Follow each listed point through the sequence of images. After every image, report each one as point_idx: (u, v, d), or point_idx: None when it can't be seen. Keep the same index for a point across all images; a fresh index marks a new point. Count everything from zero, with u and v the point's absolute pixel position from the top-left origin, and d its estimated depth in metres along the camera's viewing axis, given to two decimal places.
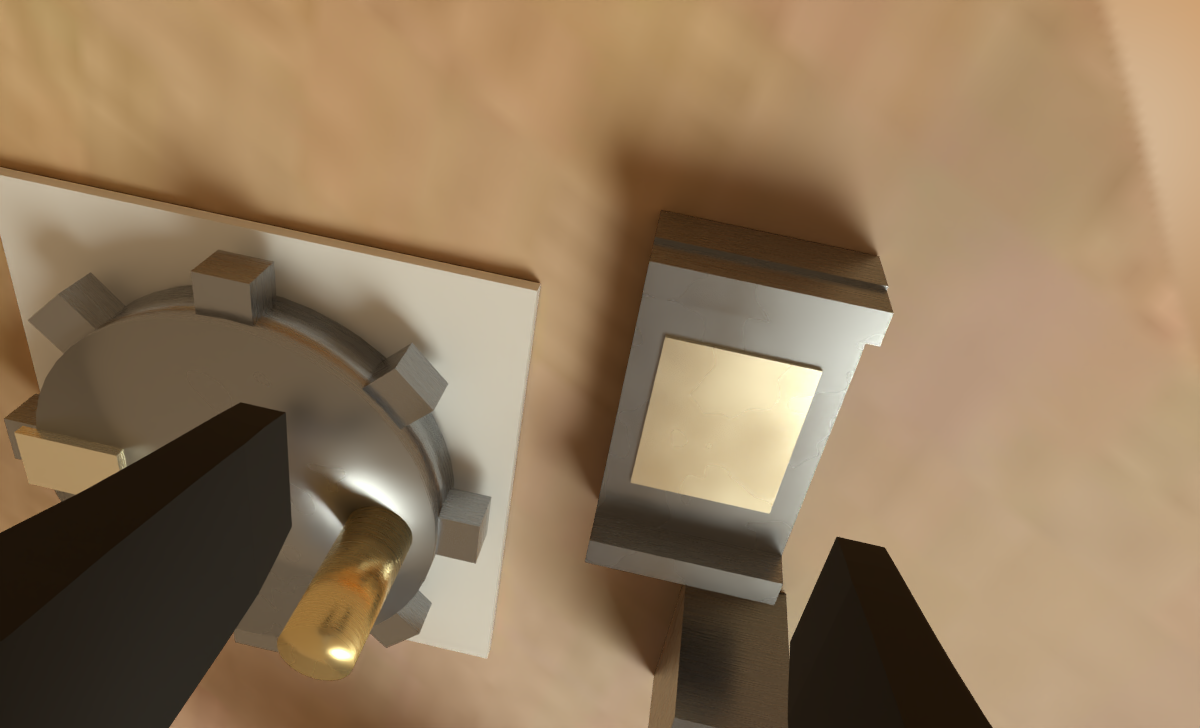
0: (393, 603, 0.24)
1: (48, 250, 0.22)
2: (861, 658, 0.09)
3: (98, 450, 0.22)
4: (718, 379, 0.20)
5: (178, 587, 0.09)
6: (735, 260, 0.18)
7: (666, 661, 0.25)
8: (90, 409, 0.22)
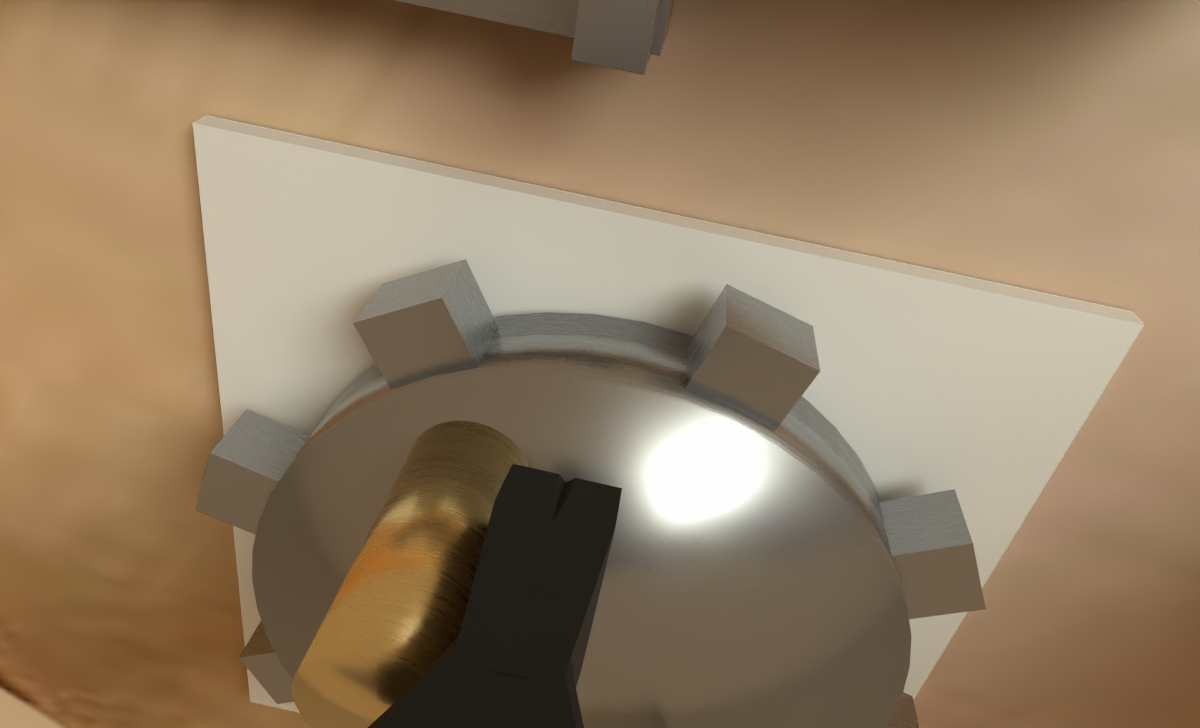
0: (635, 407, 0.11)
1: None
2: None
3: None
4: None
5: None
6: None
7: None
8: None
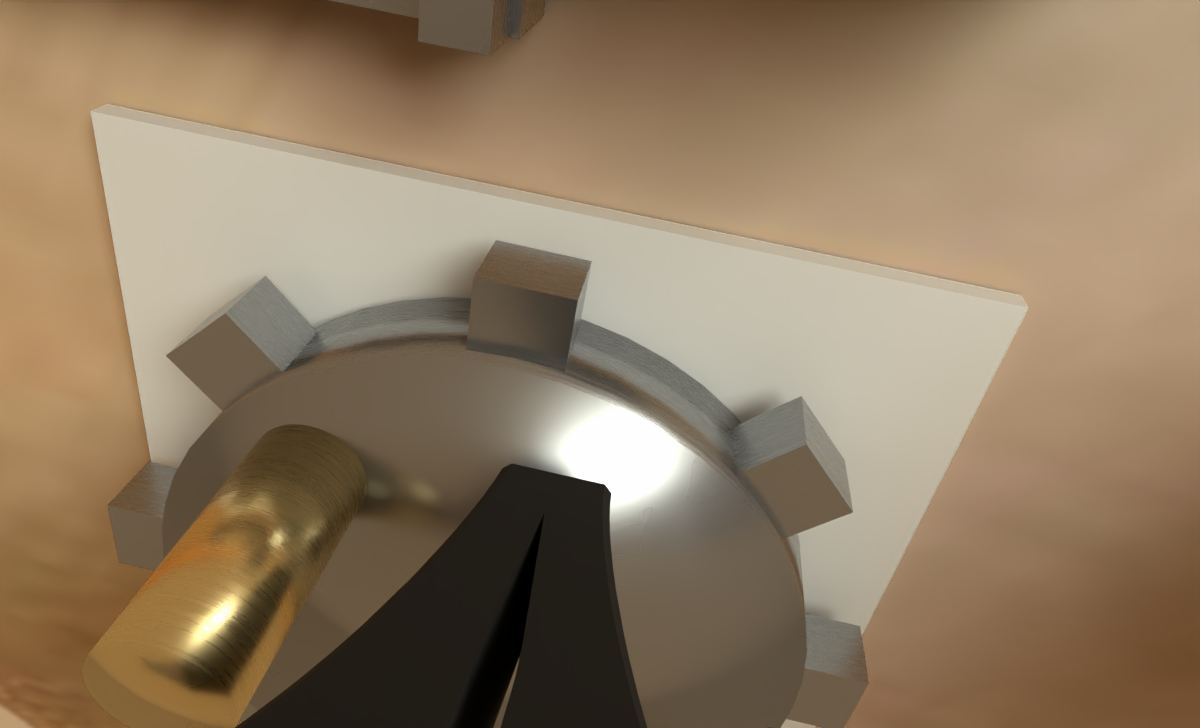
0: (420, 376, 0.12)
1: None
2: (532, 582, 0.09)
3: None
4: None
5: (496, 661, 0.09)
6: None
7: None
8: None
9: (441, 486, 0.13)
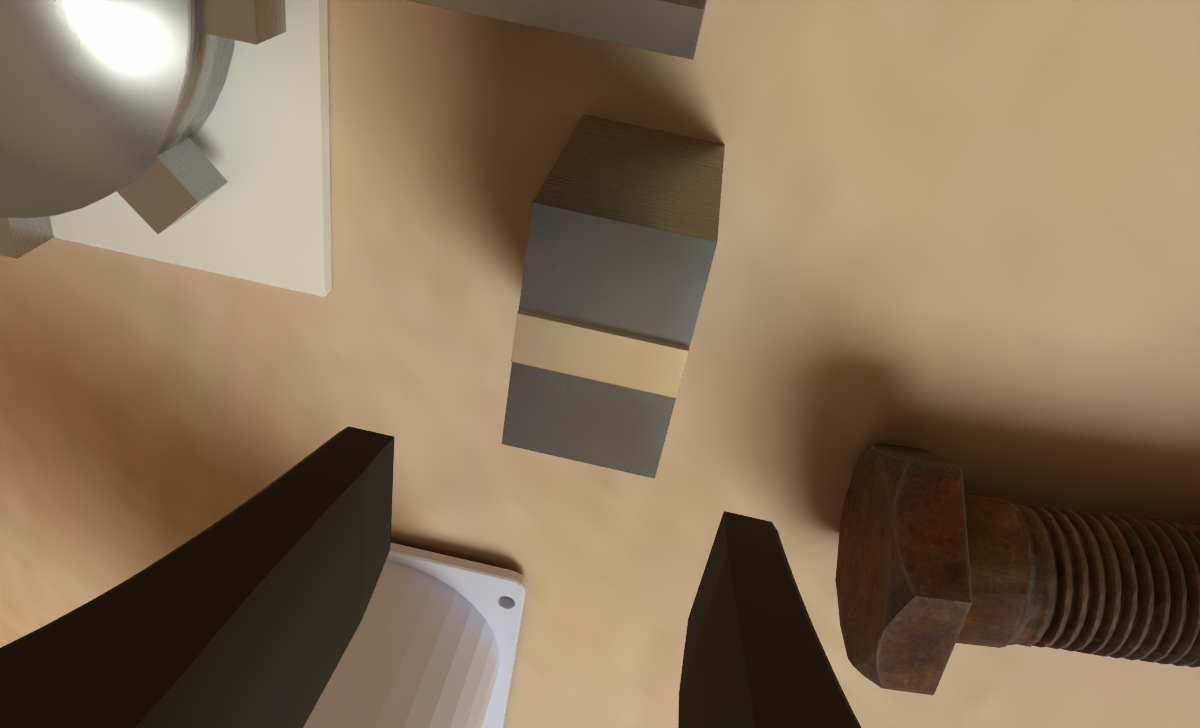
0: None
1: None
2: (728, 627, 0.09)
3: None
4: None
5: (305, 616, 0.09)
6: None
7: None
8: None
9: None
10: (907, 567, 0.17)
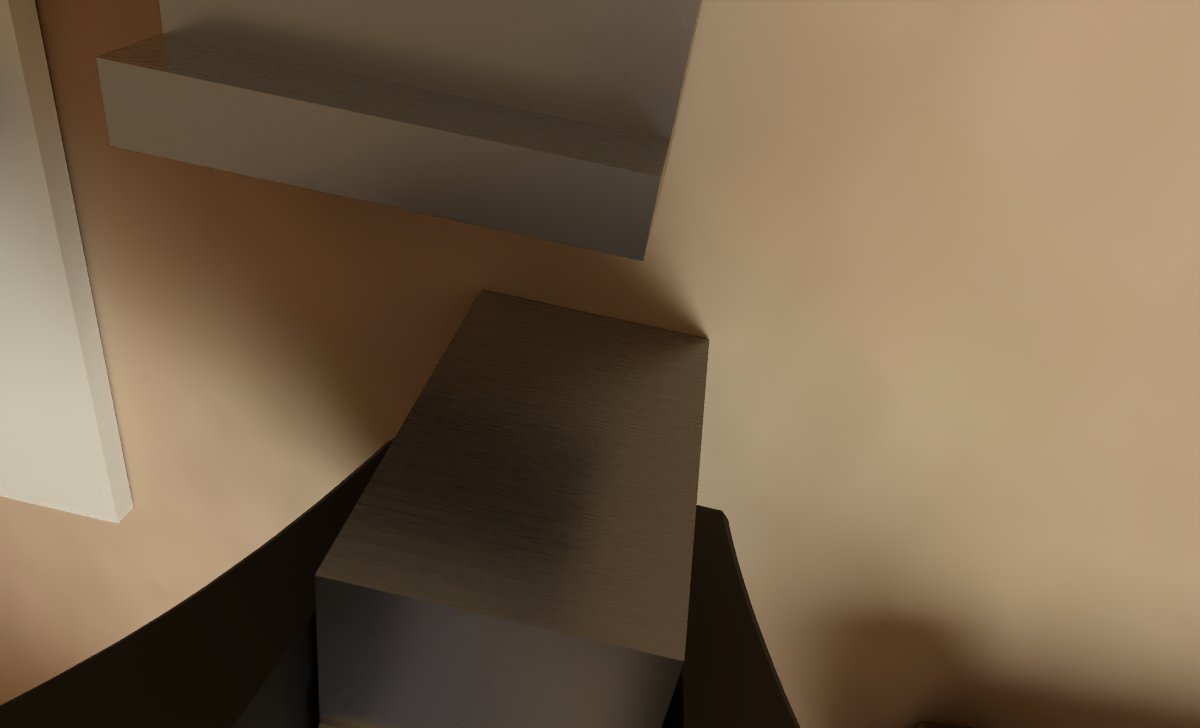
0: None
1: None
2: None
3: None
4: None
5: None
6: None
7: None
8: None
9: None
10: None
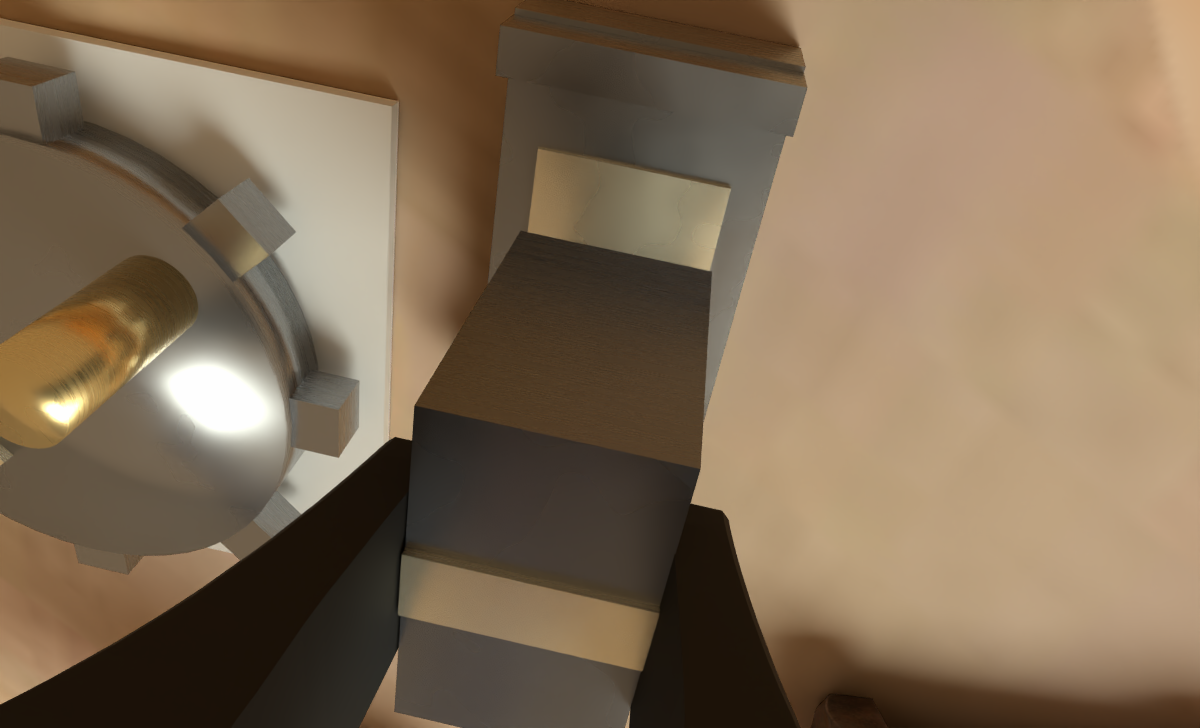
0: (264, 382, 0.18)
1: None
2: (670, 614, 0.09)
3: None
4: (607, 206, 0.16)
5: (359, 629, 0.09)
6: (615, 36, 0.14)
7: None
8: None
9: (180, 378, 0.18)
10: None
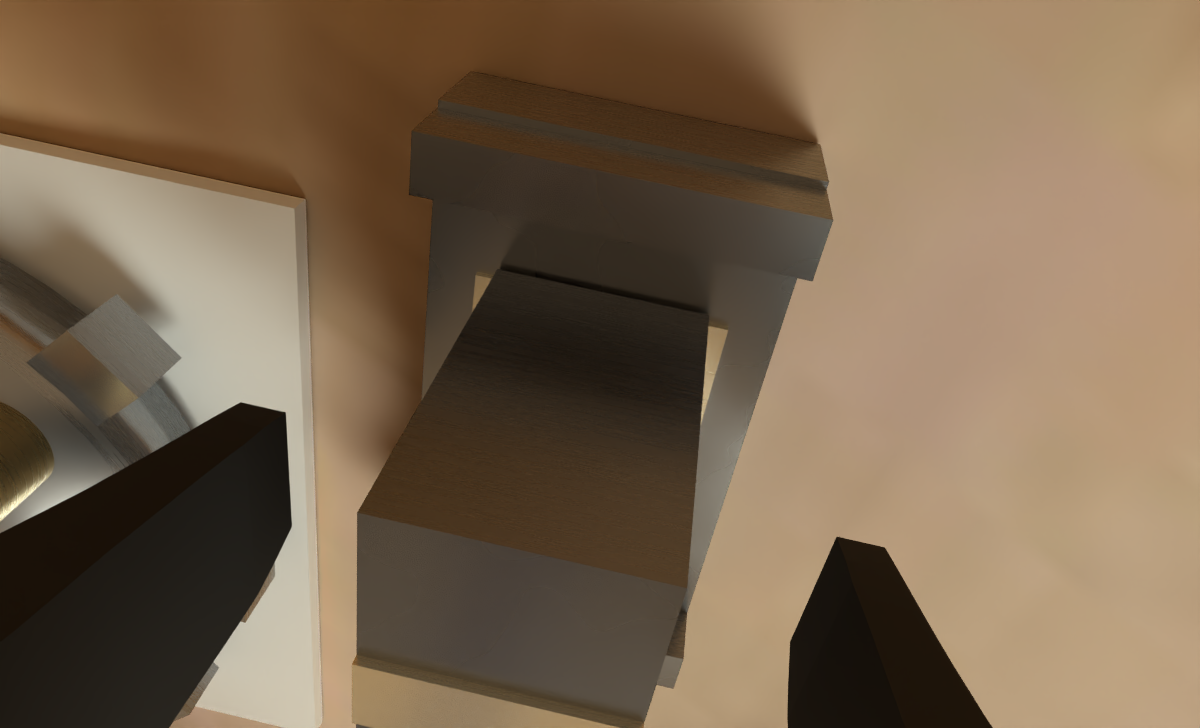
0: None
1: None
2: (861, 658, 0.09)
3: None
4: None
5: (179, 587, 0.09)
6: (572, 139, 0.11)
7: None
8: None
9: None
10: None
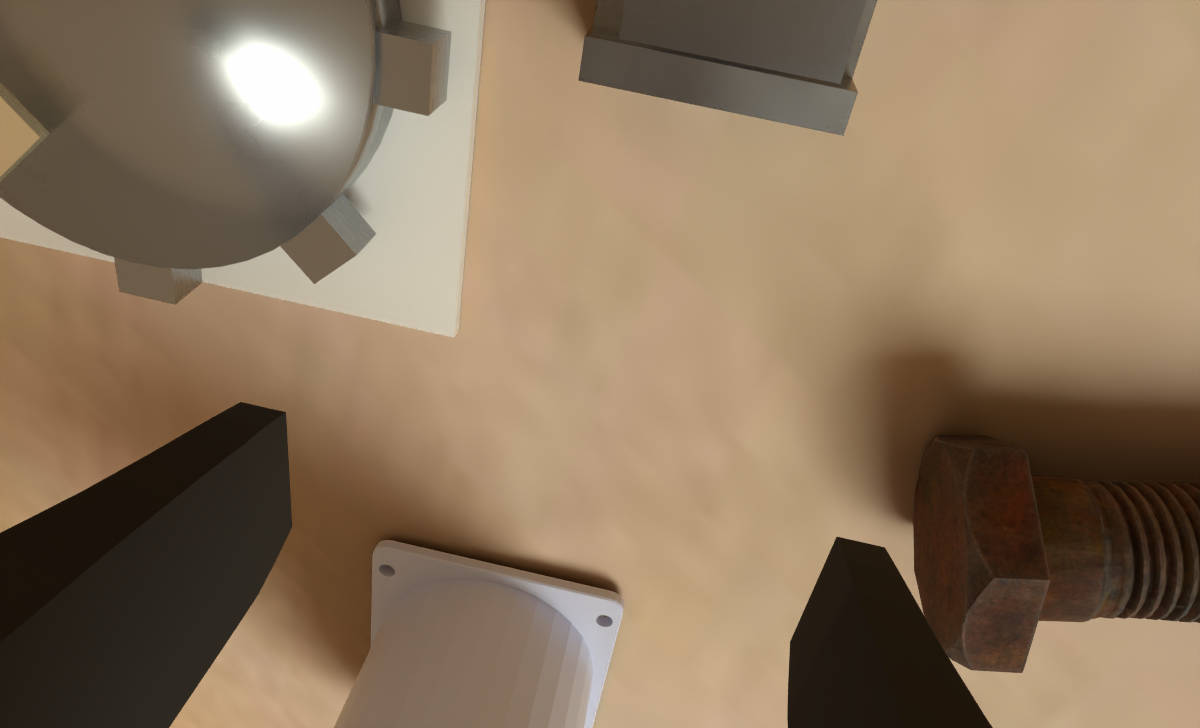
0: (348, 0, 0.16)
1: None
2: (861, 658, 0.09)
3: None
4: None
5: (178, 587, 0.09)
6: None
7: None
8: None
9: (249, 2, 0.16)
10: (983, 550, 0.18)
